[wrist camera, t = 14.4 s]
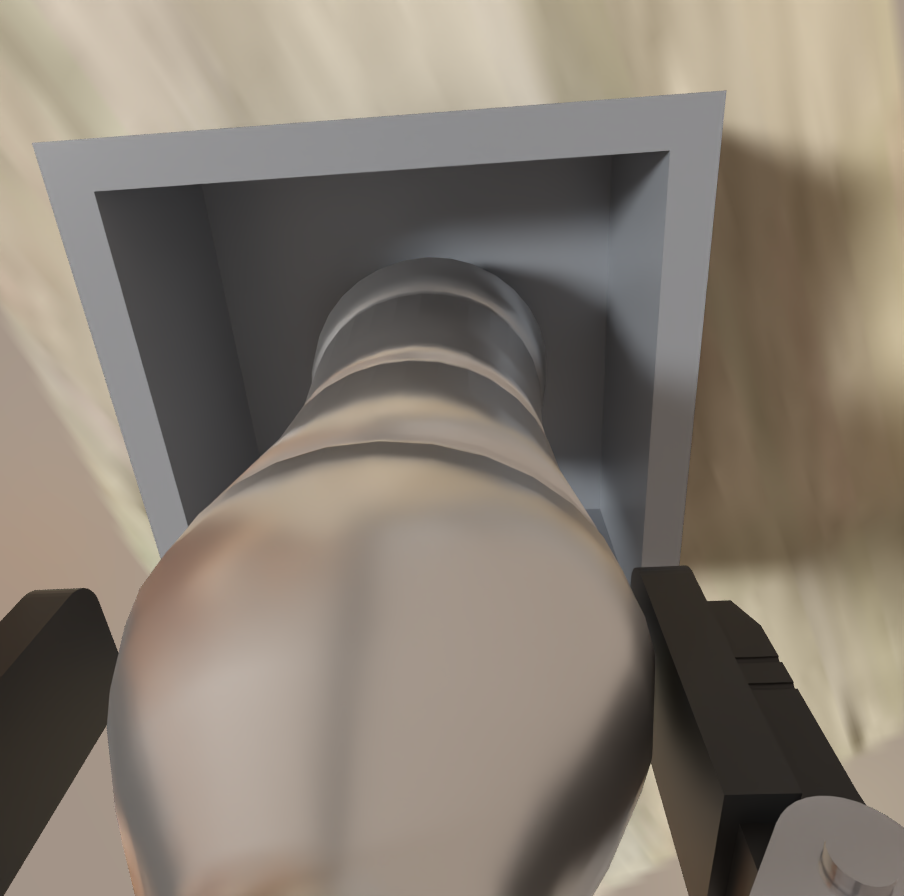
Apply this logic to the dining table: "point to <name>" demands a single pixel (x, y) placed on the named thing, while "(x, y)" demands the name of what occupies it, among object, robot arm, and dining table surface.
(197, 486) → the box
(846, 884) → the robot arm
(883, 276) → the dining table surface
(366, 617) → the plastic bottle
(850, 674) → the dining table surface
